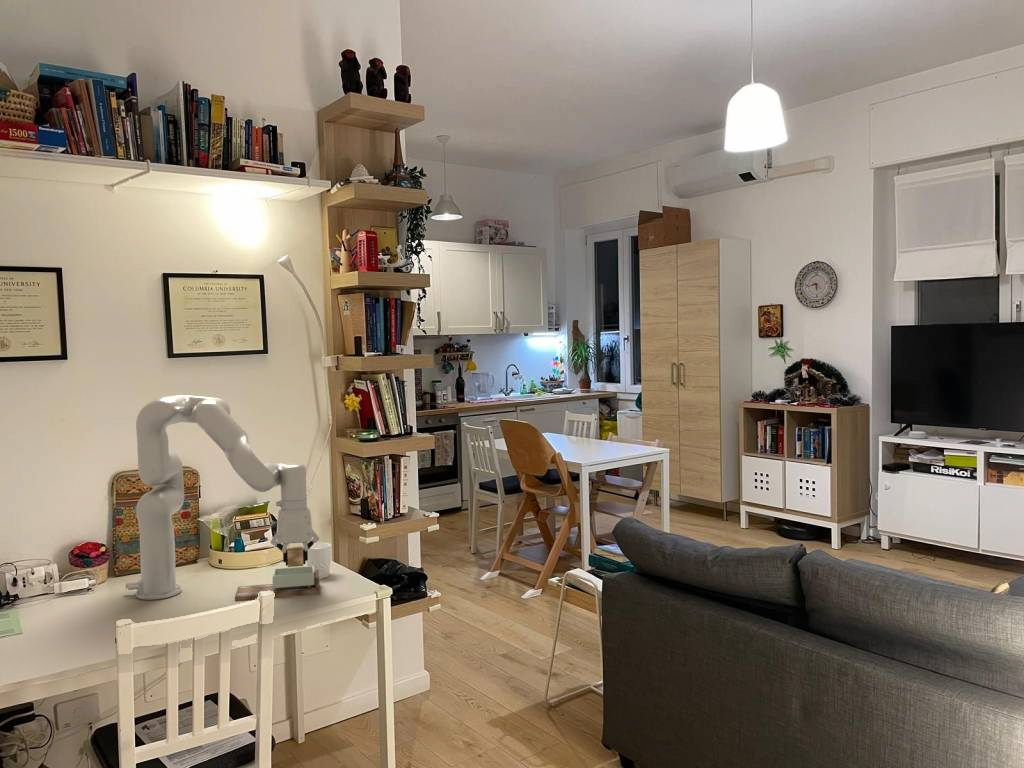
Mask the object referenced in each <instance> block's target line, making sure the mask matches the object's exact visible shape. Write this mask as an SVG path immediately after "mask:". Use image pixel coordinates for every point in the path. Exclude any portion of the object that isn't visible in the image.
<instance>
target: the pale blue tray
mask: <svg viewBox="0 0 1024 768" xmlns="http://www.w3.org/2000/svg"><path fill="white" fill-rule="evenodd" d="M272 584H273V588H276V591H280V588H281V587H294V586H306V585H307V588H308V589H310V588H311V585H314V566H307V565H306V566H298V567H279V568H273V572H272Z"/></svg>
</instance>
